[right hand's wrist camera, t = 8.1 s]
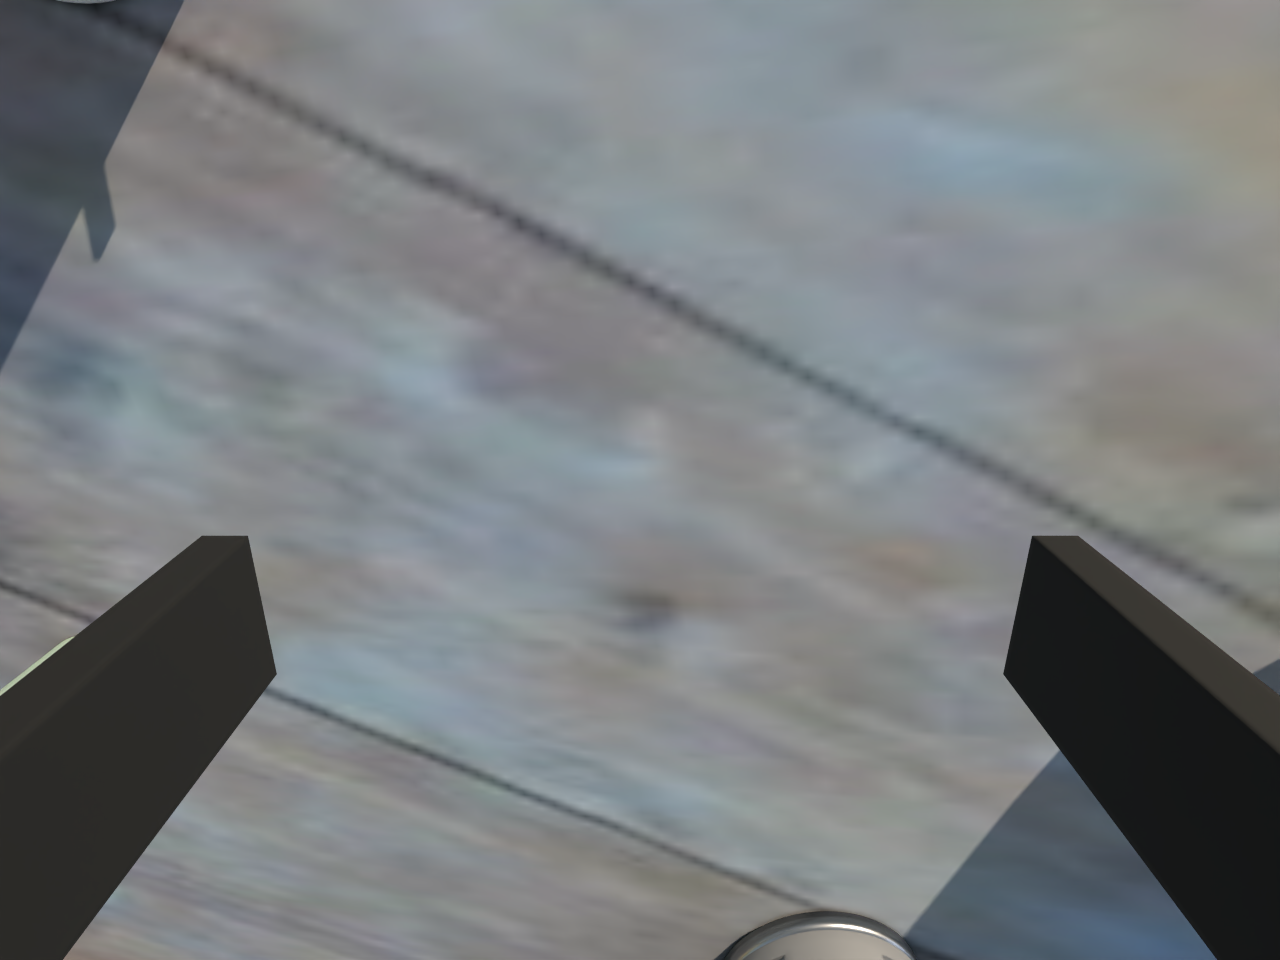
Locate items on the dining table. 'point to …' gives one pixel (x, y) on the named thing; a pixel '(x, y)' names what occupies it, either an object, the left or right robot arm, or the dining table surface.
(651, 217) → the dining table surface
